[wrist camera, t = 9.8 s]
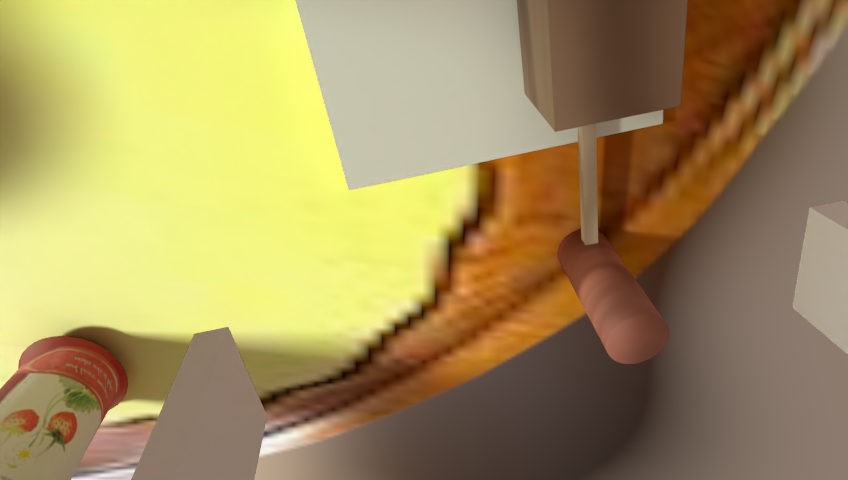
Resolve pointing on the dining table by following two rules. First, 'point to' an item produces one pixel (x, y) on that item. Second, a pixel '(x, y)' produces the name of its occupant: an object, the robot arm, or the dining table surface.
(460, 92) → the white compartment tray
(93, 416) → the liquor
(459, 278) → the dining table surface
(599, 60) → the tethered block
